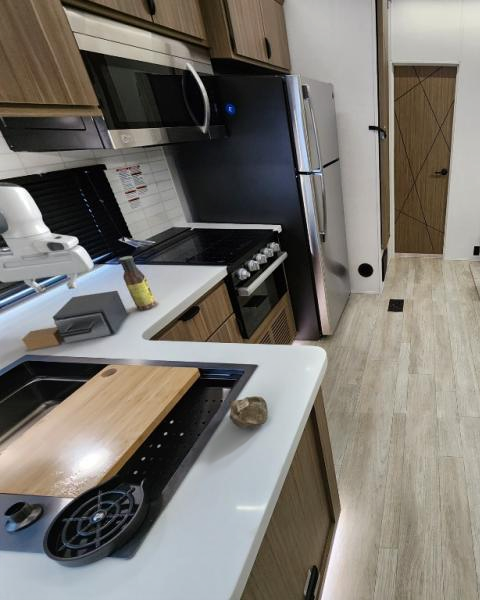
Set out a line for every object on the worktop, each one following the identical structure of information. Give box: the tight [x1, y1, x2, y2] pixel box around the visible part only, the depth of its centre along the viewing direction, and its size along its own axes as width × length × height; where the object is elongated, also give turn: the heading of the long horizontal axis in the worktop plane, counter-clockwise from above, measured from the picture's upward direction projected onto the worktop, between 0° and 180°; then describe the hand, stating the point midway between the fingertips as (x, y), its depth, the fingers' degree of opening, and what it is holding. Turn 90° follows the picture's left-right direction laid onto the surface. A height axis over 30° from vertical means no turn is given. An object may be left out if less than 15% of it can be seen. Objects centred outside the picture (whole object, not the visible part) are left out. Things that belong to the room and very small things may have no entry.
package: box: [21, 326, 65, 351], centre depth 105 cm, size 8×5×4 cm, turn 113°
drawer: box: [53, 312, 111, 344], centre depth 108 cm, size 18×11×8 cm, turn 23°
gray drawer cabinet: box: [52, 290, 128, 343], centre depth 111 cm, size 15×13×10 cm
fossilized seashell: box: [229, 395, 269, 429], centre depth 76 cm, size 8×7×10 cm
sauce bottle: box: [118, 255, 156, 311], centre depth 122 cm, size 7×6×20 cm
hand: (58, 290), depth 96 cm, fingers open, 6 cm apart
